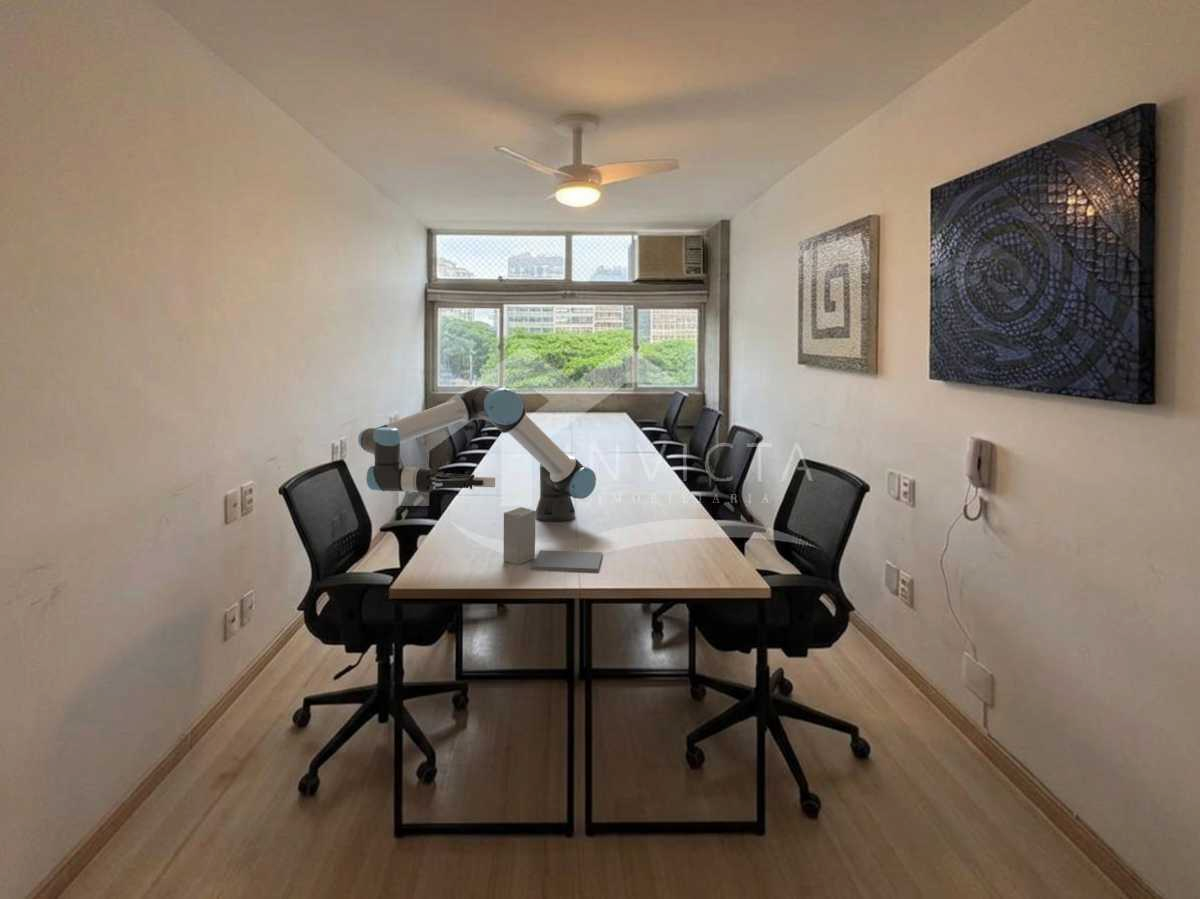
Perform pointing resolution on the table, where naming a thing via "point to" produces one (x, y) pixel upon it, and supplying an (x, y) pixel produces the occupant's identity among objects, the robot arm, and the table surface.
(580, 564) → the slate mat
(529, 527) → the skincare box
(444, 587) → the table surface
